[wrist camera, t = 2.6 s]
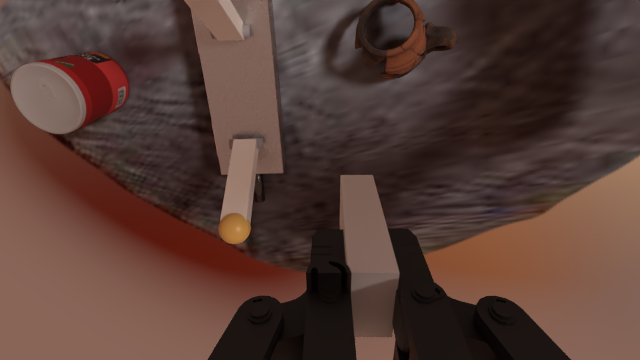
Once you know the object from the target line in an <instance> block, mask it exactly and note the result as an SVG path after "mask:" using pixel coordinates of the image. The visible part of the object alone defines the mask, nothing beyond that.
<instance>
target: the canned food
mask: <svg viewBox="0 0 640 360" xmlns="http://www.w3.org/2000/svg"><path fill="white" fill-rule="evenodd" d="M129 90H130V86H129V81H128V78H127V75H126V73H125V72H124V70H123V69H122V67H121V66H120V65H119V64H118V63H117V62H116V61H115V60H113V59H112V58H110V57H108V56H106V55H104V54H100V53H97V52H85V53H80V54H74V55H69V56H63V57H58V58H52V59H47V60H41V61H37V62H32V63H29V64H26V65H23V66H21V67H20V68H18V69H17V70H16V71H15V73H14V74H13V76H12V79H11V94H12V97H13V100H14V102H15V104H16V106H17V108H18V109H19V111H20V112H21V113H22V115H23V116H24V117H25V118H26V119H27V120H28V121H30V122H31V123H32V124H33V125H35V126H36V127H38V128H39V129H41V130H44V131H46V132H49V133H53V134H66V133H69V132H72V131H75V130H77V129H79V128H81V127H83V126H85V125H87V124H89V123H91V122H93V121H95V120H97V119H99V118H101V117H103V116H105V115H107V114H109V113H111V112H113V111H115V110H117V109H119V108H120V107H122V106H123V104H124V103H125V102H126V100H127V98H128V96H129Z"/></svg>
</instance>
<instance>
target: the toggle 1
mask: <svg viewBox="0 0 640 360" xmlns="http://www.w3.org/2000/svg"><path fill="white" fill-rule="evenodd" d="M184 1H185V2H186V4H187V5H188V6H189V7H190V8H191V9H192V11H193V12H194V13H195V14H196V15H197V16H198V18H199V19H200V20H201V21H202V22H203V23H204V25H205V26H206V27H207V28H208V29H209V31H210V34H211V37H212V39H217V40H218V41H229V40H244V38H250V37H251V30H250V26H249V25H243V21H242V20H241V18H240V16H239V15H238V13H237V11H236V9H235V8H234V6H233V4H232V2H231V1H230V0H184Z"/></svg>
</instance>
